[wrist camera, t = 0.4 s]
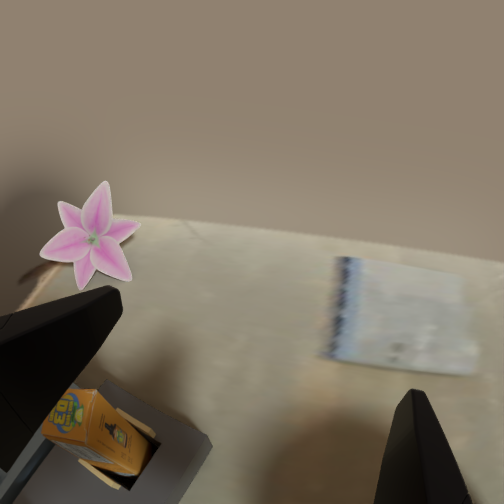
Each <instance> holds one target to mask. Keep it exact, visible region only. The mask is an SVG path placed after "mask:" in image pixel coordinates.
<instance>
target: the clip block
mask: <svg viewBox="0 0 504 504" xmlns="http://www.w3.org/2000/svg"><path fill="white" fill-rule="evenodd" d="M97 391H98V392H99V393H100V394H101V395H102V396H103V397H104V399H105V400H106V401H107V402H108V403H109V404H110V405H111V406H112V407H113V408H114V409H115V410H116V411H117V412H118V413H119V414H120V415H121V416H122V417H123V418H124V419H125V420H126V421H127V422H128V423H129V424H130V425H131V426H132V427H133V428H134V429H135V430H137V431H138V432H139V433H140V434H141V435H142V436H143V437H144V438H145V439H146V440H148V441H150V442H151V443H153V444H155V445H157V446H158V447H159V448H158V450H157V451H156V453H155V454H154V456H153V457H152V459H151V460H150V462H149V463H148V465H147V466H146V468H145V469H144V471H143V472H142V474H141V475H140V476H139V478H138V479H137V481H136V482H135V484H134V485H133V487H132V488H131V489H130V488H129V487H127V486H126V485H124V484H123V483H121V482H120V481H118V480H117V479H116V478H114V477H113V476H111V475H110V474H109V473H107V472H105V471H103V470H101V469H99V468H97V467H95V466H93V465H91V464H89V463H87V462H85V461H83V460H82V459H80V458H78V457H76V456H75V455H73V454H71V453H70V452H68V451H66V450H65V449H63V448H61V447H60V446H58V445H55V446H54V447H53V449H52V450H51V451H50V453H49V454H48V455H47V457H46V458H45V459H44V461H43V462H42V463H41V465H40V466H39V467H38V469H37V470H36V471H35V473H34V474H33V476H32V477H31V478H30V480H29V481H28V482H27V484H26V485H25V487H24V488H23V489H22V491H21V492H20V494H19V495H18V496H17V498H16V499H15V501H14V502H13V503H12V504H178V503H179V501H180V500H181V498H182V497H183V495H184V493H185V492H186V490H187V489H188V487H189V485H190V484H191V482H192V481H193V479H194V477H195V476H196V474H197V472H198V471H199V469H200V467H201V466H202V464H203V462H204V461H205V459H206V457H207V456H208V454H209V452H210V450H211V449H212V447H213V446H212V444H211V442H210V440H209V438H208V436H207V435H206V434H204V433H202V432H200V431H198V430H196V429H193V428H191V427H189V426H187V425H185V424H183V423H181V422H179V421H178V420H176V419H174V418H172V417H170V416H168V415H166V414H164V413H162V412H161V411H159V410H157V409H155V408H153V407H152V406H150V405H148V404H146V403H145V402H143V401H141V400H140V399H138V398H136V397H134V396H133V395H131V394H130V393H128V392H126V391H125V390H123V389H121V388H120V387H118V386H117V385H115V384H114V383H112V382H111V381H109V380H107V379H106V380H105V381H104V383H103V384H102V385H101V386H100V388H99V389H98V390H97Z"/></svg>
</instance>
